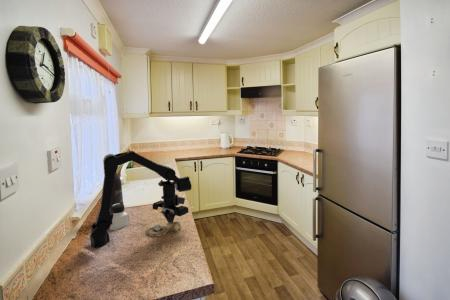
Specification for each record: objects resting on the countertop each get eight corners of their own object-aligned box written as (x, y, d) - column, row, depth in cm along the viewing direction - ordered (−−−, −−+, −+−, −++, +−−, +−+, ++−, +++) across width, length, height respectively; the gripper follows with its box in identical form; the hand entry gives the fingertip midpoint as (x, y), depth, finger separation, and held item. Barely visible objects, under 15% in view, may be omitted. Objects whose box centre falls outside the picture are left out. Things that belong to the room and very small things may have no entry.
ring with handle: (148, 237, 116) (148, 231, 115) (147, 229, 124) (147, 223, 124) (182, 231, 121) (181, 225, 120) (178, 224, 129) (178, 218, 128)
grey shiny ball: (157, 234, 119) (157, 228, 119) (153, 232, 121) (153, 226, 121) (162, 231, 122) (161, 225, 121) (158, 230, 123) (157, 224, 123)
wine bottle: (118, 219, 141) (112, 165, 136) (107, 218, 143) (102, 164, 139) (127, 215, 147) (122, 162, 143) (117, 213, 150) (111, 162, 145)
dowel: (176, 233, 120) (176, 226, 119) (174, 232, 121) (173, 225, 120) (179, 231, 121) (178, 224, 121) (176, 231, 122) (176, 224, 122)
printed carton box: (130, 227, 131) (127, 204, 129) (116, 232, 126) (113, 208, 124) (123, 223, 136) (121, 201, 134) (109, 228, 131) (107, 205, 129)
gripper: (195, 192, 125) (196, 223, 127) (167, 186, 135) (169, 215, 138) (179, 198, 116) (180, 232, 118) (150, 192, 126) (153, 223, 129)
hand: (171, 224), depth 126 cm, fingers closed
